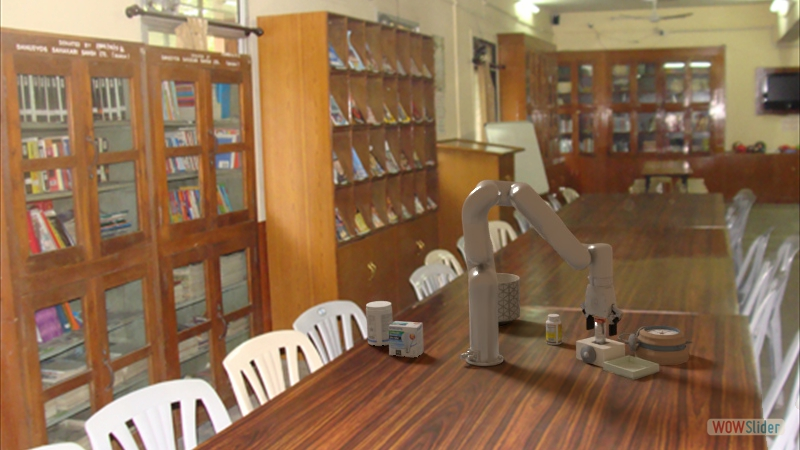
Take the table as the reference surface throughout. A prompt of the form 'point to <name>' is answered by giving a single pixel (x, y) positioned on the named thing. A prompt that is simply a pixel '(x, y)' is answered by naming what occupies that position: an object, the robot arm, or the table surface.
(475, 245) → the robot arm
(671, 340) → the alarm clock
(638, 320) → the table surface
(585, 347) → the block
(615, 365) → the tray
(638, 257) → the table surface
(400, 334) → the light bulb box
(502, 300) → the planter
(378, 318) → the supplement tub
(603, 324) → the pin
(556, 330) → the supplement bottle
